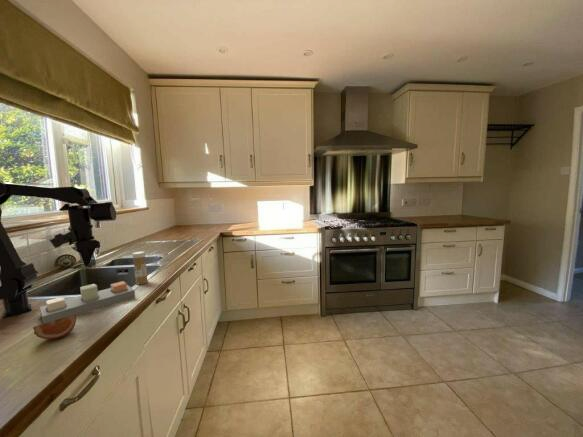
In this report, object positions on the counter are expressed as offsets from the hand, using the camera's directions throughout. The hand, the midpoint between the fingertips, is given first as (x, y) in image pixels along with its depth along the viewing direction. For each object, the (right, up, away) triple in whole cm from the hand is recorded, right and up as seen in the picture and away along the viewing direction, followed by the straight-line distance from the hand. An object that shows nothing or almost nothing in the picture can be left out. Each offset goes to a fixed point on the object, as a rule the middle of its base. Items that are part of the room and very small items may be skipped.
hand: (86, 265), depth 89 cm
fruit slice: (+10, -16, -21) cm, 28 cm away
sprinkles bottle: (+9, -11, +18) cm, 23 cm away
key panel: (+4, -13, -3) cm, 14 cm away
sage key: (+4, -11, -3) cm, 12 cm away
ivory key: (-1, -14, -10) cm, 17 cm away
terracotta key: (+10, -12, +3) cm, 16 cm away
